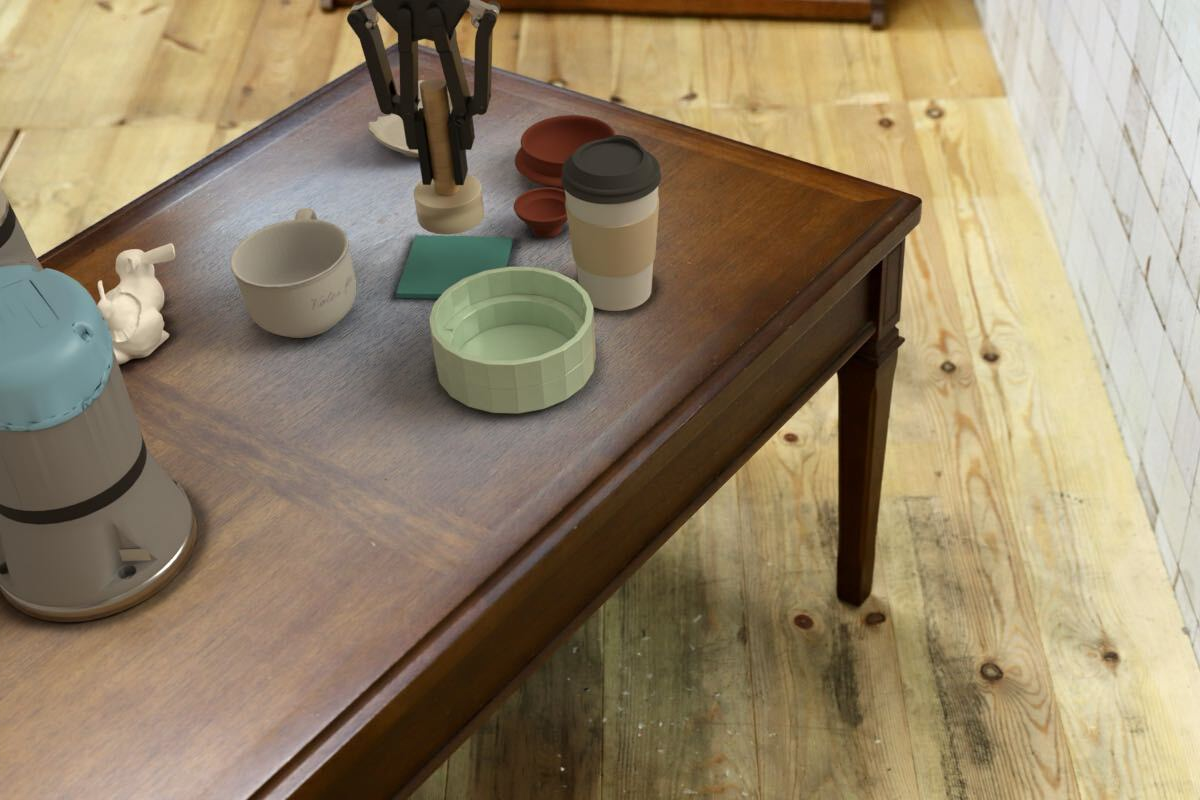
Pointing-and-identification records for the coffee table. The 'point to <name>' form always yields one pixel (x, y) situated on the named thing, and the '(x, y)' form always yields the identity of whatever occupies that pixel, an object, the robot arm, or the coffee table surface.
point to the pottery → (551, 167)
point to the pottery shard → (395, 130)
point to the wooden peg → (444, 172)
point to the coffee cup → (613, 219)
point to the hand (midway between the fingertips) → (445, 176)
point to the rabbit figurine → (136, 303)
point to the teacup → (296, 275)
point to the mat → (449, 262)
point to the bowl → (513, 339)
